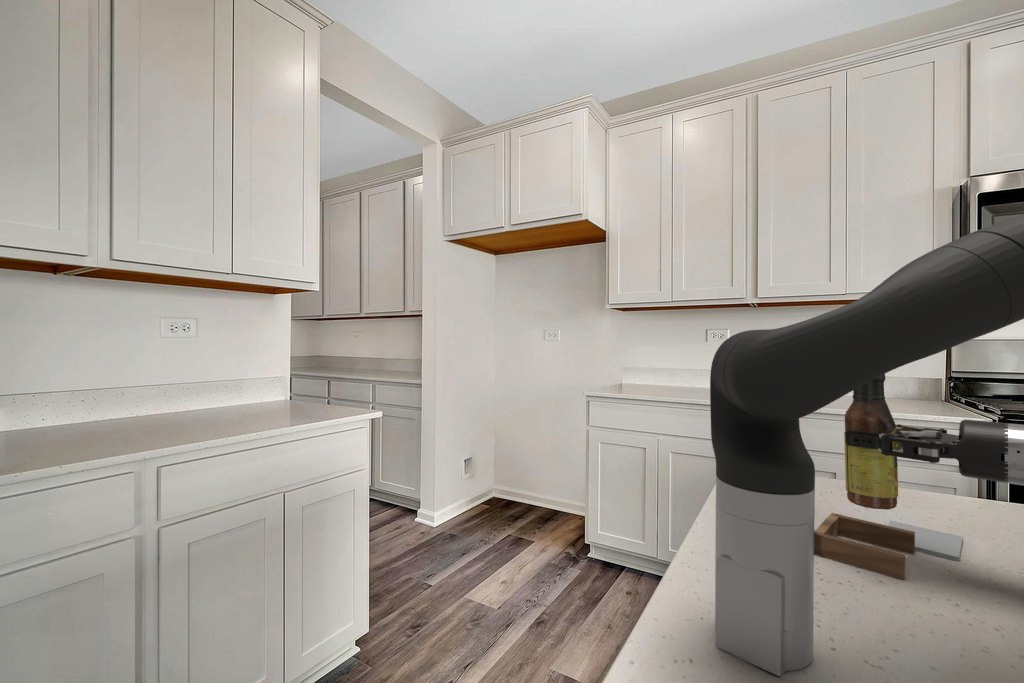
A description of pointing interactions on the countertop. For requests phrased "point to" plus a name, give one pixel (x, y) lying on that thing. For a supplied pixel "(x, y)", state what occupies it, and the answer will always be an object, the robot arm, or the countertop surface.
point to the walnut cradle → (861, 553)
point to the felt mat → (934, 541)
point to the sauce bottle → (870, 450)
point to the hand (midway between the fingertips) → (851, 434)
